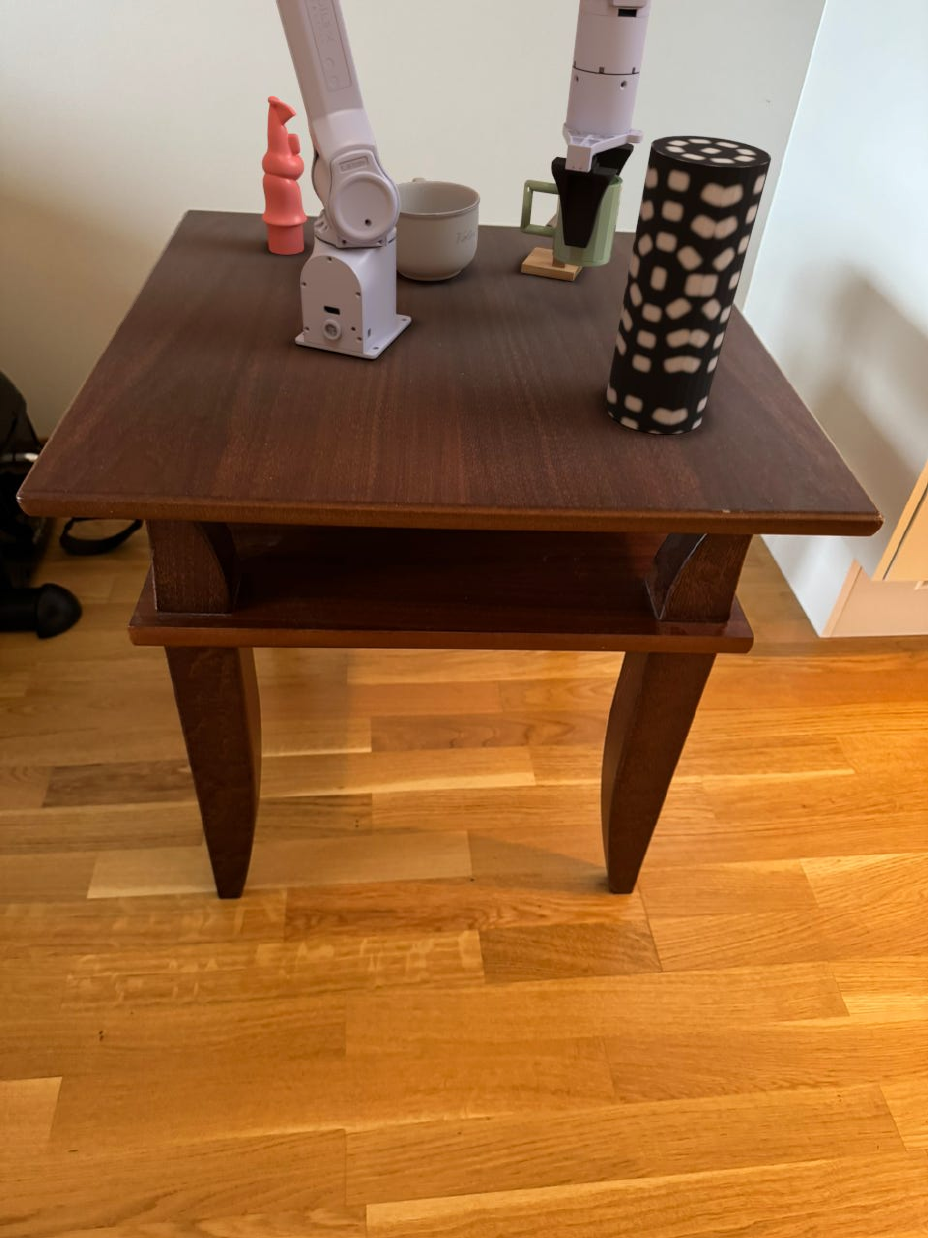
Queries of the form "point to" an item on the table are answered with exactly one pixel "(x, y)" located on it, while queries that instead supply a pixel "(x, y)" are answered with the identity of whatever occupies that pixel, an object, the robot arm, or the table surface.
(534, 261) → the mug stand
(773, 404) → the table surface
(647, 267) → the spotted tube
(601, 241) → the mug
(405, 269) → the teacup
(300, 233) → the figurine
